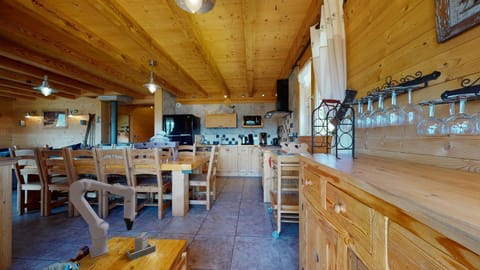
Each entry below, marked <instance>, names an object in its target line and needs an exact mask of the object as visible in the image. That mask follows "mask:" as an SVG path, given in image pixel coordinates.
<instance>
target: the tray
mask: <svg viewBox="0 0 480 270" xmlns="http://www.w3.org/2000/svg"><path fill="white" fill-rule="evenodd" d="M156 248H157V247H156V244H154V245H153V244H152V242H148V247H147V248H146V249H143V250H140V251H138V252H135V251H134V252H132V253H130V251H129V250H126V251H125V255H126V256H127V258H128V259H129V260H130V262H131V261H134V260H136V259H139V258H141V257H144V256H146V255H149V254H151V253H154V252H156Z"/></svg>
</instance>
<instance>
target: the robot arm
mask: <svg viewBox="0 0 480 270" xmlns="http://www.w3.org/2000/svg"><path fill="white" fill-rule="evenodd" d="M91 189H99V190H104V191H109V193H110V194H112V195H117V196H120V197H121V196H122V197H123V199H124V200H123V221H124V223H125V227H126V231H128V232H129V231H131V230H133V225H134V222H135V221H136V215H137V214H138V212H136V211H135V210H136V198H135V197H136V195H135V194H136V191H137V190H136V188H135V186H132V185H131V186H129V185H122V184H120V183H119V182H117V183H114V184H109V183H107V182H106V183H105V182H102V181H98V180H95V179H91V178H90V179H89V178H82V179H78V180H76V181H74V182H71V184H70V186H69V188H68V191H69V200H70V202H71V203H72V204H73V206H74V207H75V209H76V211H78V213H79V214H80V216H81V217H82V218H83V219H84V221H85V222H86V223H87V225H88V230H89V231H88V232H89V233H90V237H91V249H90V250H89V254H90V257H91V259H93V258H96V257H100V256H102V255H103V256H104V255H105V254H108V253H109V252H110V250H109V248H108V242H109V241H108V239H109V237H108V230H109V228H110V224H109V223H108V222H107V221H105V220H104V219H102V218H100V217H99V216H98V214H97V213H96V212H95V210H94V209H93V208H92V207H91V205H90V204H89V202H88V201H87V200H86V198H85V194H86V192H87V190H91Z"/></svg>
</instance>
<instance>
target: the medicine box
mask: <svg viewBox="0 0 480 270" xmlns="http://www.w3.org/2000/svg"><path fill="white" fill-rule="evenodd" d="M148 243H149V232H148V231H144V232H140V233H139V234H138V235H137V236H136V237H135V238H134V253H135V252H138V251H140V250H143V249H146V248H148V247H149V246H148Z"/></svg>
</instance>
